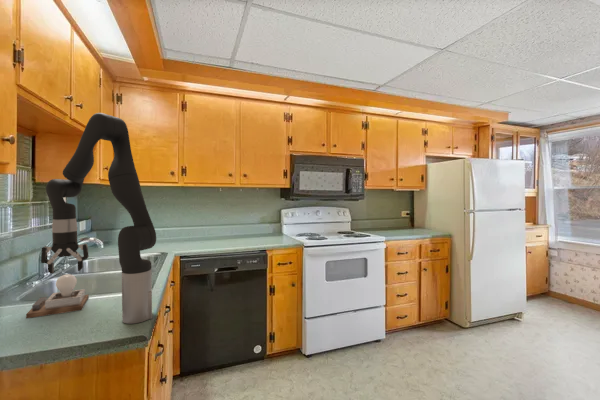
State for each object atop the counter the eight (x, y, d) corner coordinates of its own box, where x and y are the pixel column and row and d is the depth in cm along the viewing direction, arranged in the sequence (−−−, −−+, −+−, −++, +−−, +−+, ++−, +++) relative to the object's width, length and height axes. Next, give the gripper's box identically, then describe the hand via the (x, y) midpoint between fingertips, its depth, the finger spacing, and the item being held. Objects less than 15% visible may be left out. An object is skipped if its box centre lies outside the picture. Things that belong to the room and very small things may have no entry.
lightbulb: (52, 303, 112) (52, 275, 112) (71, 298, 118) (71, 271, 118) (61, 306, 109) (61, 277, 109) (80, 301, 115) (80, 273, 115)
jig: (88, 297, 123) (88, 287, 122) (81, 309, 110) (81, 298, 110) (39, 304, 115) (39, 293, 115) (26, 318, 103) (25, 305, 103)
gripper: (37, 233, 106) (39, 276, 106) (85, 230, 113) (86, 271, 113) (44, 230, 113) (45, 272, 113) (89, 228, 119) (90, 267, 120)
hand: (66, 271), depth 113 cm, fingers open, 8 cm apart
